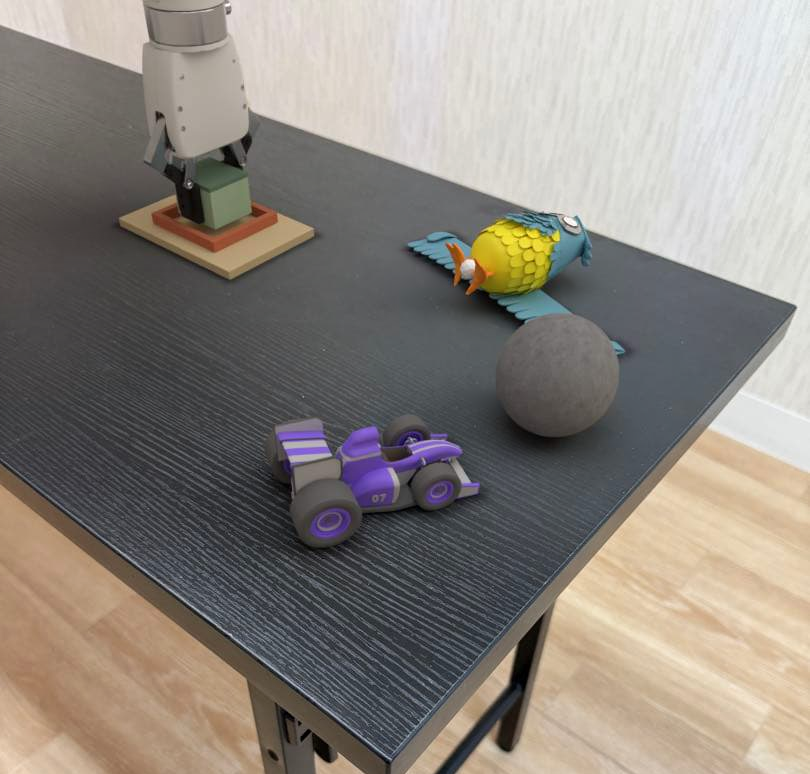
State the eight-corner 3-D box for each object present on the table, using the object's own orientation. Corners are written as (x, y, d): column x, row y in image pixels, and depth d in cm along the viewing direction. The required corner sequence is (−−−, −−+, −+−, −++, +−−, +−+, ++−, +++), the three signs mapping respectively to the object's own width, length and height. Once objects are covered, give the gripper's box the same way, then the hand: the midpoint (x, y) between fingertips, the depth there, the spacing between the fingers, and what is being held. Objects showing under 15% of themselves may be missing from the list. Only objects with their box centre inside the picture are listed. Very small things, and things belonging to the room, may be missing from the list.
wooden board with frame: (120, 226, 92) (115, 207, 90) (206, 189, 99) (203, 171, 97) (229, 280, 84) (227, 260, 83) (314, 236, 91) (313, 217, 90)
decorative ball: (466, 412, 70) (477, 311, 63) (550, 376, 75) (570, 277, 67) (542, 477, 65) (564, 375, 58) (628, 434, 69) (659, 334, 62)
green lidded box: (178, 213, 90) (171, 172, 86) (215, 196, 93) (209, 156, 89) (215, 230, 87) (209, 188, 84) (252, 212, 90) (247, 172, 87)
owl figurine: (381, 175, 82) (494, 149, 89) (378, 255, 89) (484, 225, 95) (569, 298, 67) (689, 255, 74) (550, 384, 73) (662, 337, 80)
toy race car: (486, 507, 63) (496, 443, 58) (300, 556, 58) (294, 491, 54) (438, 432, 68) (443, 368, 64) (266, 472, 64) (258, 407, 60)
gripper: (226, -2, 83) (247, 176, 96) (87, 34, 73) (130, 226, 87) (279, 13, 80) (292, 194, 93) (140, 53, 70) (177, 249, 84)
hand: (214, 208), depth 90 cm, fingers closed on green lidded box, 5 cm apart
